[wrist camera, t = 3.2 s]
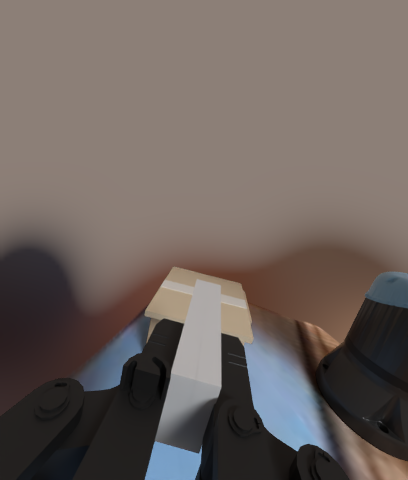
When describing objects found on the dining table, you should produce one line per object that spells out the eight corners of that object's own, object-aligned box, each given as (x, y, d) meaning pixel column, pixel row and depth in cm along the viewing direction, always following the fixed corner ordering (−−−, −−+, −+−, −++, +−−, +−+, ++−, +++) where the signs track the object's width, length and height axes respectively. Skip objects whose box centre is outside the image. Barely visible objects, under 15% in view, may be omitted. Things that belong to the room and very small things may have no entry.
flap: (240, 287, 39) (241, 283, 39) (251, 343, 24) (253, 337, 24) (172, 270, 39) (173, 266, 39) (144, 315, 25) (145, 309, 24)
